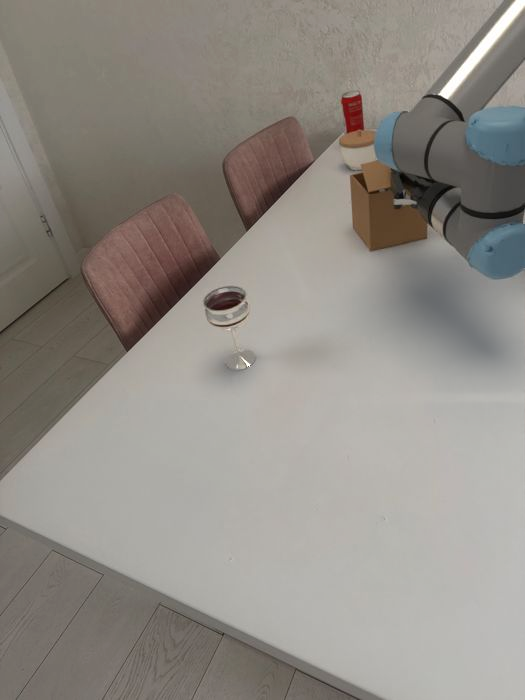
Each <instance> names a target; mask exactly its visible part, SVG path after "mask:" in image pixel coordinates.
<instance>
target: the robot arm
mask: <svg viewBox="0 0 525 700" xmlns="http://www.w3.org/2000/svg"><path fill="white" fill-rule="evenodd" d="M524 62H525V0H503V1H502V2H500V4H499V6H497V8H496V9H495V10H494V11H493V12H492V14H491V15H490V16H489V17H488V19H487V20H486V21H485V22H484V23H483V24H482V26H481V27H480V28H479V29H478V30H477V31H476V33H475V34H474V35H473V36H472V37H471V39H470V40H469V41H468V42H467V44H466V45H465V46H464V47H463V49H462V50H461V51H460V52H459V53H458V54H457V55H456V57H455V58H454V59H453V60H452V61H451V63H450V64H448V66H447V68H446V69H444V71H443V72H442V73H441V75H439V77H438V78H437V79H436V81H435V82H434V83H432V86H431V87H430V88H429V89H428V90H427V91H426V93H424V95H423V96H422V97H421V99H420V100H419V101H418V102H417V103H416V104H415V106H414V107H412V109H411V110H410V111H407V110H402V111H394V112H391V113H390V114H387V115H386V116H385V117H384V118H383V119H382V120H381V121H380V122H379V125H378V127H377V129H376V130H375V131H376V134H375V138H374V151H375V154H376V157H377V159H376V160H379V161H380V162H381V163H382V164H383V165H385V166H387V167H390V168H391V170H392V172H391V189H392V192H393V195H394V209H400V208H401V207H402V205H403V206H405V205H410V206H411V207H412V208H413V209H416V210H419V212H420V214H421V216H422V218H423V219H424V220H425V221H426V222H427V223H428V225H429V226H430V227H431V228H432V230H434V231H435V232H436V233H437V234H438V235H440V236H441V238H443V239H444V240H445V241H446V242H447V243H448V244H449V245H450V246H452V247H453V249H455V250H456V251H457V253H459V254H460V256H461V257H463V259H464V260H465V261H466V262H467V263H468V265H469V267H471V268H473V269H475V270H476V271H477V272H479V273H480V274H481V275H483V276H484V277H486V278H488V279H491V280H495V281H496V280H497V281H498V280H506V279H509V278H512V277H514V276H516V275H518V274H519V273H521V272H523V270H525V223H524V216H525V107H524V106H518V105H509V106H508V105H507V106H503V105H499V106H491V107H487V105H488V104H489V103H490V102H491V101H492V100H493V99H494V97H495V96H496V95H497V93H498V92H499V91H500V90H501V89H502V88H503V87H504V86H505V84H506V83H507V82H508V81H509V80H510V78H511V77H512V76H513V75H514V74H515V72H517V70H518V69H519V68H520V67H521V66H522V64H523V63H524ZM403 187H404V188H405V189H406V190H407V191H408V192H410V193H411V194H412V195H411V197H410V196H408V194H406V190H404V188H403Z"/></svg>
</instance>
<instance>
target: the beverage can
mask: <svg viewBox="0 0 525 700" xmlns="http://www.w3.org/2000/svg"><path fill="white" fill-rule="evenodd" d="M340 103H341V114H342V115H341V116H342V124H343V133H344V134H343V135H345V134H347V133H350V132H354V131H357V130H365V123H364V121H365V120H364V110H363V109H364V108H363V97H362V94H361V92H360V90H349V91H346V92H344V93H342V95H341V100H340Z"/></svg>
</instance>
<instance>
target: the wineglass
mask: <svg viewBox="0 0 525 700" xmlns="http://www.w3.org/2000/svg"><path fill="white" fill-rule="evenodd" d="M247 295H248V293H247V290H245V289H244V288H243V287H241V286H239V285H224V286H219V287H217V288H214V289H212V290H211V291H209V292H207V293H206V295H205V296H204V297H203V298H202V306H203V308H205V309H204V314H205V318H206V320H207V322H208V323H209V324H210V325H211V326H212V328H215V329H217V330H221V331H225V332H230V334H231V337H232V340H233V343H234V347H235V351H232V352H231V353H230V354H229V355H227V356H226V358H225V362H224V363H225V366H226V365H227V366H226V367H227V368H228V367H229V369H230V370H234V371H240V370H245V369H247V368H249V367H251V366H252V365H254V362H255V361H256V354H255V352H253V351H252V350H249V349H240V346H239V341H238V337H237V336H238V335H237V331H236V330H237V329H239V328H241V327H242V326H243V325H244V324H245V323H246V322H247V320H248V319H249V316H250V312H251V306H250V305H251V304H250V302H249V300H248V298H247ZM250 365H251V366H250ZM248 366H249V367H248Z"/></svg>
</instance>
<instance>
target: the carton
mask: <svg viewBox="0 0 525 700" xmlns="http://www.w3.org/2000/svg"><path fill="white" fill-rule="evenodd" d="M349 183H350V185H349V186H350V198H351V199H350V200H351V201H350V202H351V219H352V220H351V221H352V228H353V230H354V231H355V232H356V234H357V235H358V236H359V238H360V239H361V240H362V242H363V243H364V245H365V246H366V247H367V249H368V250H369V251H370V252H373V251H378V250H381V249H386V248H390V247H394V246H400V245H404V244H407V243H412V242H417V241H420V240H426V239H427V238H428V229H429V227H428V225H429V224H428V223H427V222H426V221H425V220H424V219H423V218H422V216H421V214H420V212H419V210H416V209H413V208H412V207H411V206H410V205H405V206H403V205H402V207H401V208H400V209H394V195H393V192H392V190H387V191H383V192H379V190H378V191H373V192H368V189H367V186H366V182H365V179H364V175H363V172H362V171H361V172H357V173H352V174H350V175H349ZM403 188H404V187H403ZM404 190H406V189H405V188H404ZM406 194H408V196H410V197H411V195H412V194H411V193H410V192H408V191H407V190H406Z"/></svg>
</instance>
